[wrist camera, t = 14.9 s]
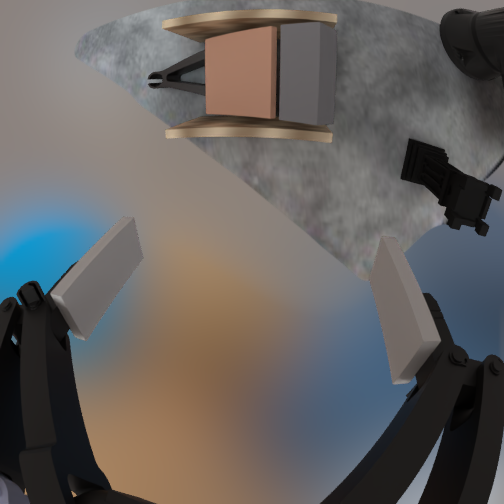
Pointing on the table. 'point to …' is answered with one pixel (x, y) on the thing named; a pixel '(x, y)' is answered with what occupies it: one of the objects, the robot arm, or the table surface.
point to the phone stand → (174, 72)
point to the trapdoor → (273, 73)
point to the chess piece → (449, 186)
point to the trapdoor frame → (245, 126)
